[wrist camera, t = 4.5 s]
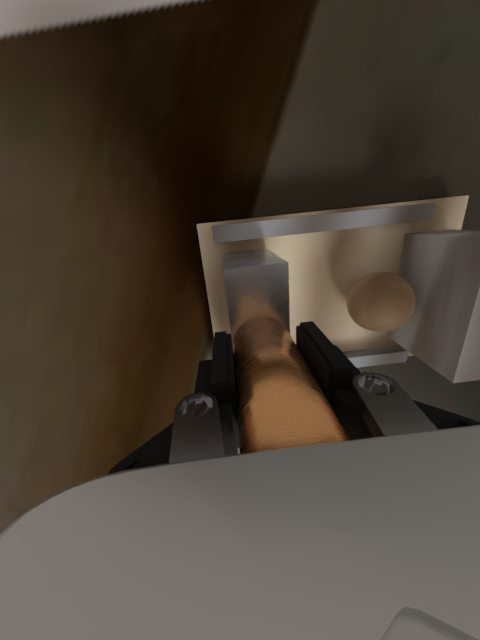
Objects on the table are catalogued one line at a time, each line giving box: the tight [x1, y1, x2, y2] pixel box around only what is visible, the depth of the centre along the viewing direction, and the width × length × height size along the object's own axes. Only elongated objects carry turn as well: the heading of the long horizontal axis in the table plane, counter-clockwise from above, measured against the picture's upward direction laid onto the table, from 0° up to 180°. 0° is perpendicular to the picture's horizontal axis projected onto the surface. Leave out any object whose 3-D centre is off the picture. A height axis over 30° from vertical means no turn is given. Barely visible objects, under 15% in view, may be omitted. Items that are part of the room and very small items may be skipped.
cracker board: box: [197, 195, 480, 383], centre depth 16 cm, size 18×12×8 cm, turn 96°
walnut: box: [347, 272, 416, 332], centre depth 17 cm, size 4×4×4 cm
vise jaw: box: [223, 249, 350, 454], centre depth 12 cm, size 3×8×14 cm, turn 6°
